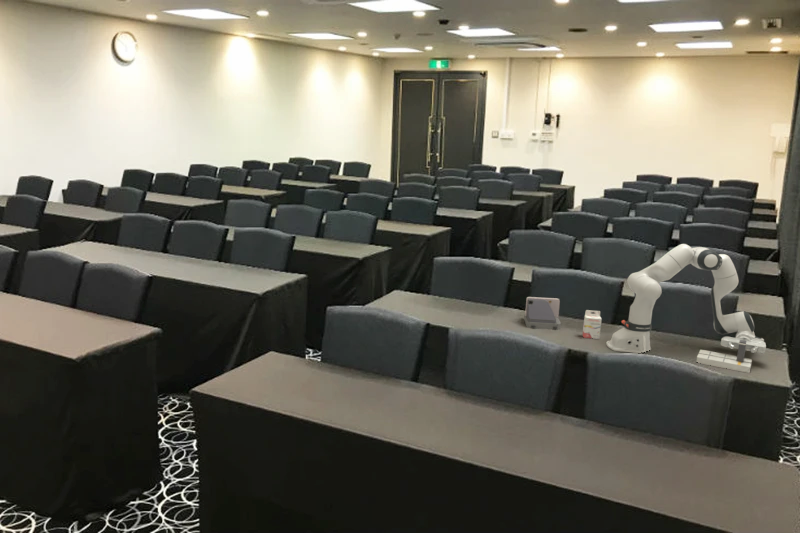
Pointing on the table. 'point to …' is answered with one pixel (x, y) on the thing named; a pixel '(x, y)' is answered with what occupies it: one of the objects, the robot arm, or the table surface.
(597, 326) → the ink cartridge box
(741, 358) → the fader knob
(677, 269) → the robot arm
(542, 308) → the tablet on stand
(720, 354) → the fader console
